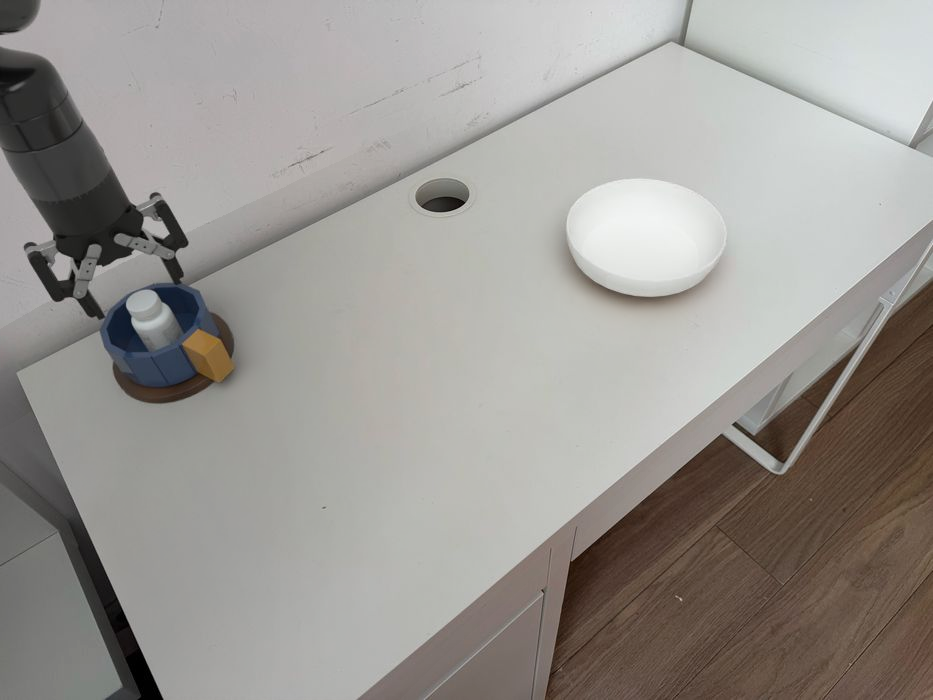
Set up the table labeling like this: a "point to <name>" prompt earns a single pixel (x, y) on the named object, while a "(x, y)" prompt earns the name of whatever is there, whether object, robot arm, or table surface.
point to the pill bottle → (153, 320)
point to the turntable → (179, 389)
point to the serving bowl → (178, 359)
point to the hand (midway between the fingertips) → (139, 297)
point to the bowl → (645, 236)
